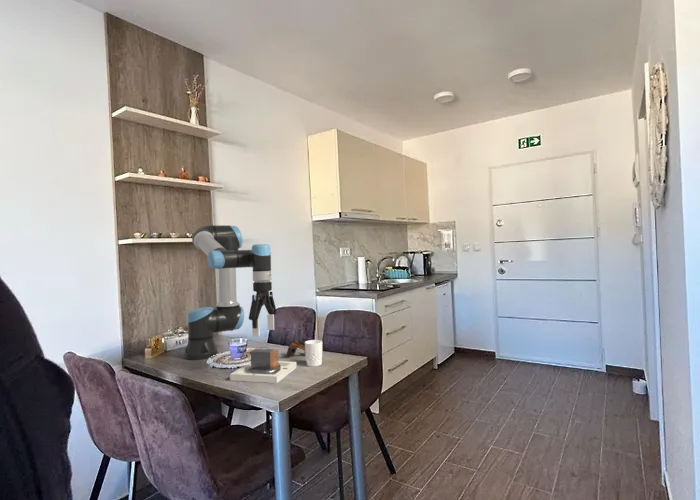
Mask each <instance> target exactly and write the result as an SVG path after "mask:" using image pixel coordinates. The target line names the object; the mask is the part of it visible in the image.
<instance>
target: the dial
mask: <svg viewBox="0 0 700 500" xmlns="http://www.w3.org/2000/svg"><path fill="white" fill-rule="evenodd" d="M279 361H280V360H279V349H278V348H277V349H276V348H274V349H271V348H270V349H268V348H267V349H266V348H255V349H253V350H251V351H250V362H251V367H249V369H248V373H251V374H254V373H256V374H271V375H273V374H276V373H277V372H279V371H280V370H281V366H280V365H279Z"/></svg>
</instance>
